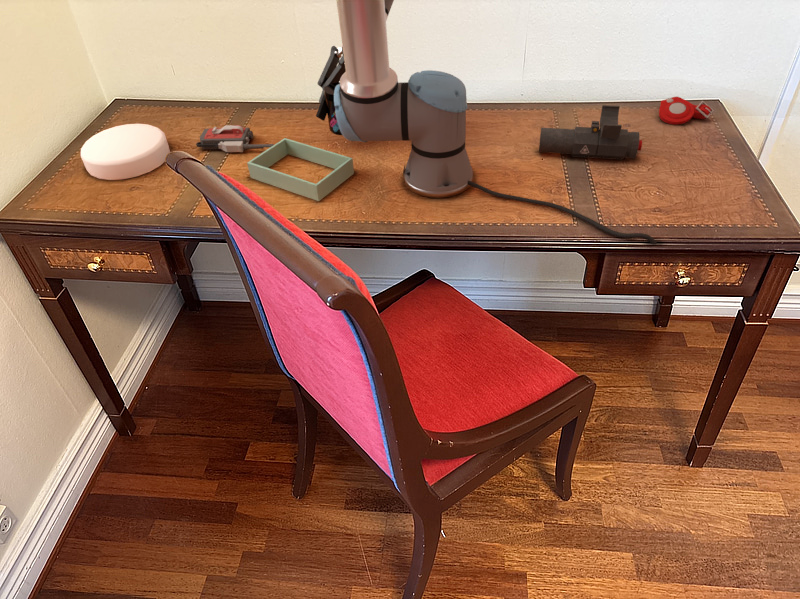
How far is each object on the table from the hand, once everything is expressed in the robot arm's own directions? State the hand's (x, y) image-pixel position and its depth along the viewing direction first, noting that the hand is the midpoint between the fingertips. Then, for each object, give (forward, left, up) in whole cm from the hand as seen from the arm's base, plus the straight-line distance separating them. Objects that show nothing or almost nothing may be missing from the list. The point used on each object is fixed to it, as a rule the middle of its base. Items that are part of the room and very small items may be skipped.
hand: (332, 121), depth 147 cm
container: (+43, +28, -8) cm, 52 cm away
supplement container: (0, -4, -4) cm, 5 cm away
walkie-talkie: (+23, +9, -8) cm, 27 cm away
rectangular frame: (0, +13, -8) cm, 15 cm away
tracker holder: (-68, -54, -8) cm, 87 cm away
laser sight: (-54, -26, -8) cm, 60 cm away
